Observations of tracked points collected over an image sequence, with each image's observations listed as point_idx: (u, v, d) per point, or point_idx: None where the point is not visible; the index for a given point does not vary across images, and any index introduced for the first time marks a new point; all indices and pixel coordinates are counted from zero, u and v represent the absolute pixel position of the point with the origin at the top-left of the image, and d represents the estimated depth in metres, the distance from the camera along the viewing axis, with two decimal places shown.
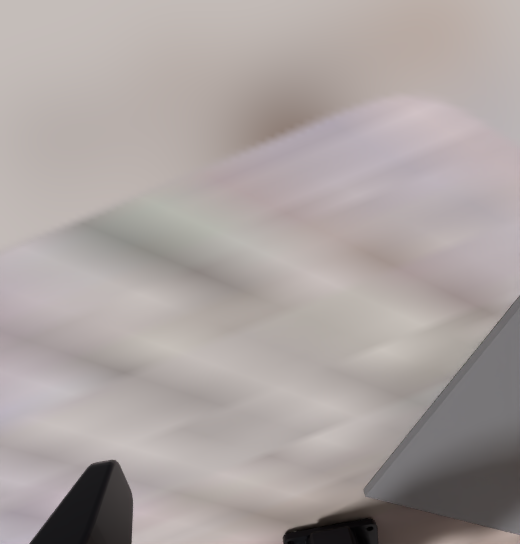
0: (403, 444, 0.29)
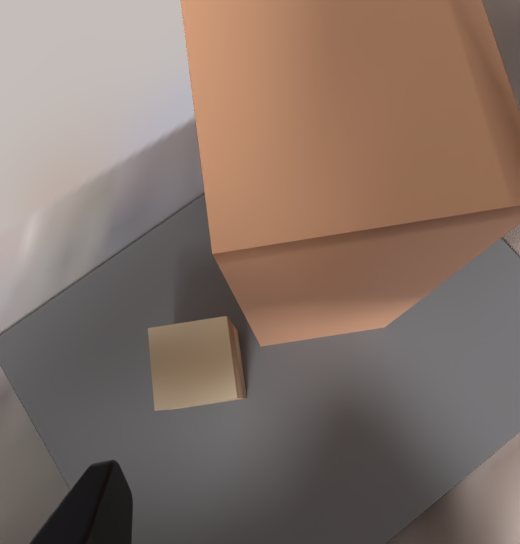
0: None
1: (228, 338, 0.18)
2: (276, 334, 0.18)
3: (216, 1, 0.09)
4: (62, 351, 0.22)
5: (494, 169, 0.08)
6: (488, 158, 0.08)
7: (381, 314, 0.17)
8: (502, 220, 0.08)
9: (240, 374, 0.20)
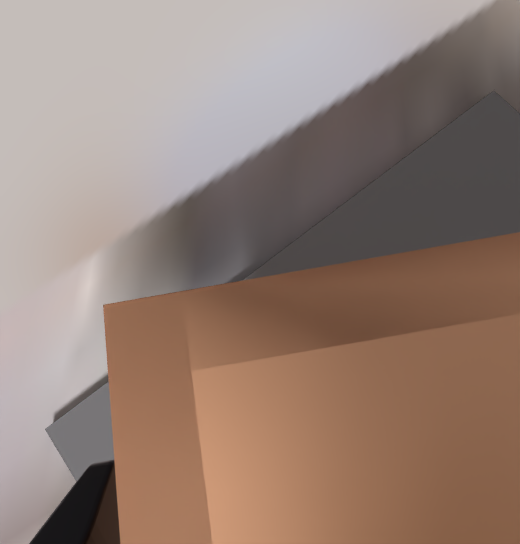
0: None
1: None
2: None
3: (201, 353, 0.03)
4: None
5: None
6: None
7: None
8: None
9: None
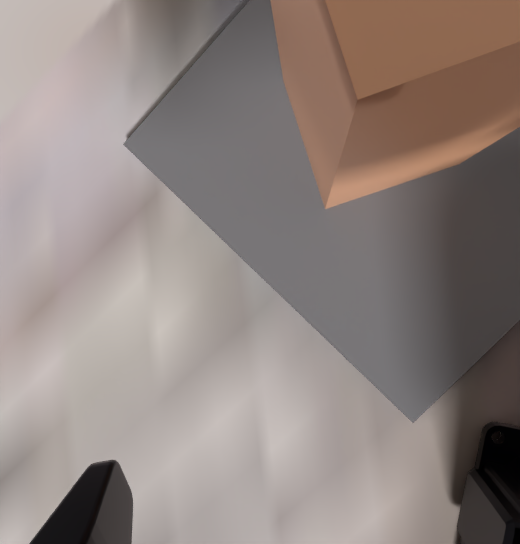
0: (329, 341, 0.20)
1: None
2: (349, 193, 0.17)
3: None
4: (204, 135, 0.20)
5: None
6: None
7: (470, 149, 0.15)
8: None
9: None
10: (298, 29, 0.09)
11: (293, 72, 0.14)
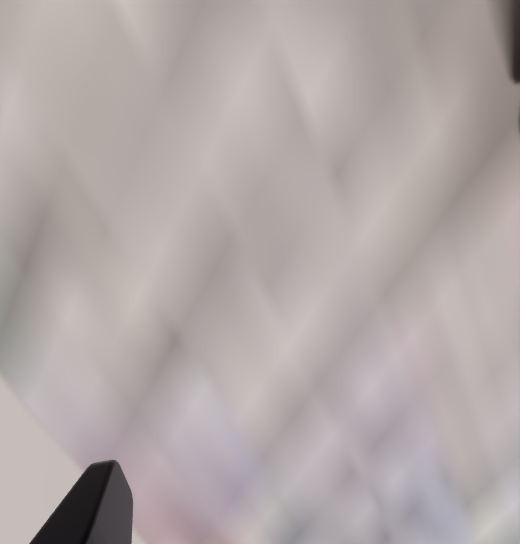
0: None
1: None
2: None
3: None
4: None
5: None
6: None
7: None
8: None
9: None
10: None
11: None
